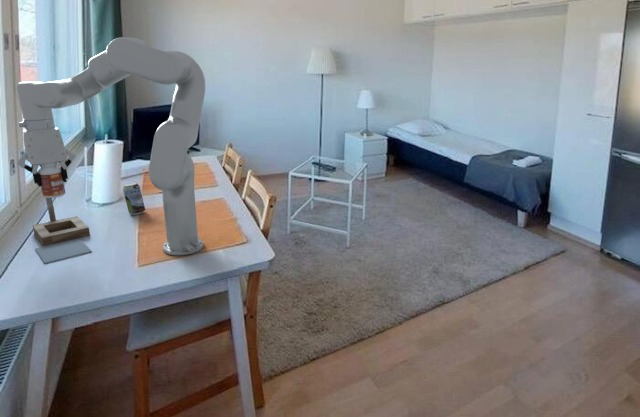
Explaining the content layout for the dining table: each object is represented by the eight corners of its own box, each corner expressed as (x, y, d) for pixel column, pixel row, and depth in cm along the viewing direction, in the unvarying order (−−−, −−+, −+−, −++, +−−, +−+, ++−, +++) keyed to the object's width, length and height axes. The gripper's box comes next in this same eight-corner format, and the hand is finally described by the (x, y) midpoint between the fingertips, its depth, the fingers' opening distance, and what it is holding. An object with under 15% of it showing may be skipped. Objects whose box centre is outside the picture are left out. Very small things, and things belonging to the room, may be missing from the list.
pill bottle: (56, 199, 137) (48, 163, 134) (38, 198, 138) (30, 162, 135) (70, 193, 143) (63, 158, 139) (53, 192, 144) (46, 158, 140)
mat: (91, 252, 142) (91, 250, 142) (44, 264, 134) (44, 262, 134) (79, 239, 151) (79, 238, 151) (35, 249, 143) (35, 248, 143)
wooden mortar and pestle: (90, 235, 154) (82, 191, 149) (43, 246, 145) (33, 199, 140) (74, 219, 168) (66, 178, 162) (30, 228, 159) (21, 185, 153)
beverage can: (139, 217, 171) (136, 186, 167) (122, 215, 173) (118, 185, 169) (149, 211, 177) (145, 182, 173) (132, 210, 178) (128, 180, 174)
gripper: (7, 129, 125) (21, 191, 132) (75, 123, 136) (85, 180, 142) (3, 126, 131) (17, 185, 137) (69, 120, 141) (79, 176, 147)
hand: (52, 182), depth 139 cm, fingers closed on pill bottle, 6 cm apart
